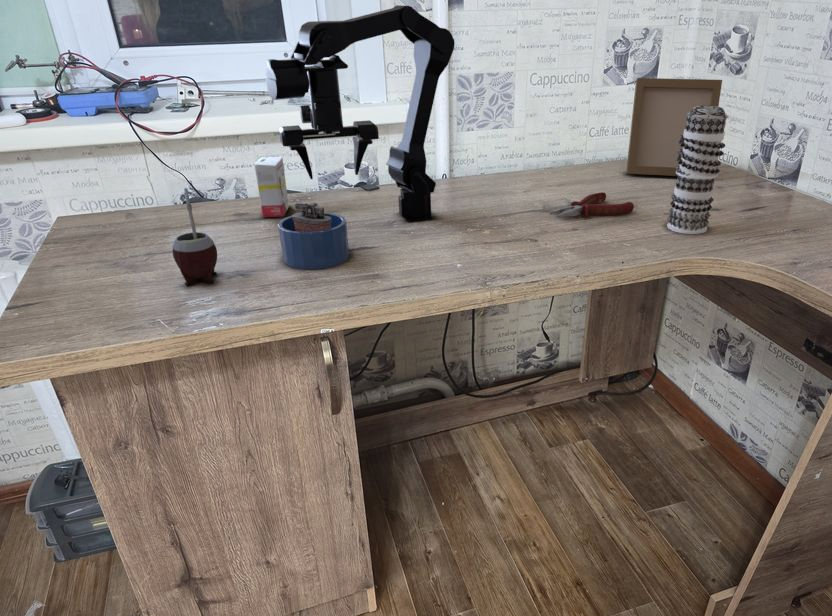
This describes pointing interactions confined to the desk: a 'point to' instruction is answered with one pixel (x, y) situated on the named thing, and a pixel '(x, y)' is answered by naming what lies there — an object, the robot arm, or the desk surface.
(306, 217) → the lighter
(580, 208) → the pliers
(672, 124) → the photo frame
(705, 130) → the decorative candle
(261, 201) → the ink box
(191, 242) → the mate gourd
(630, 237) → the desk surface
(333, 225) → the blue round bin
